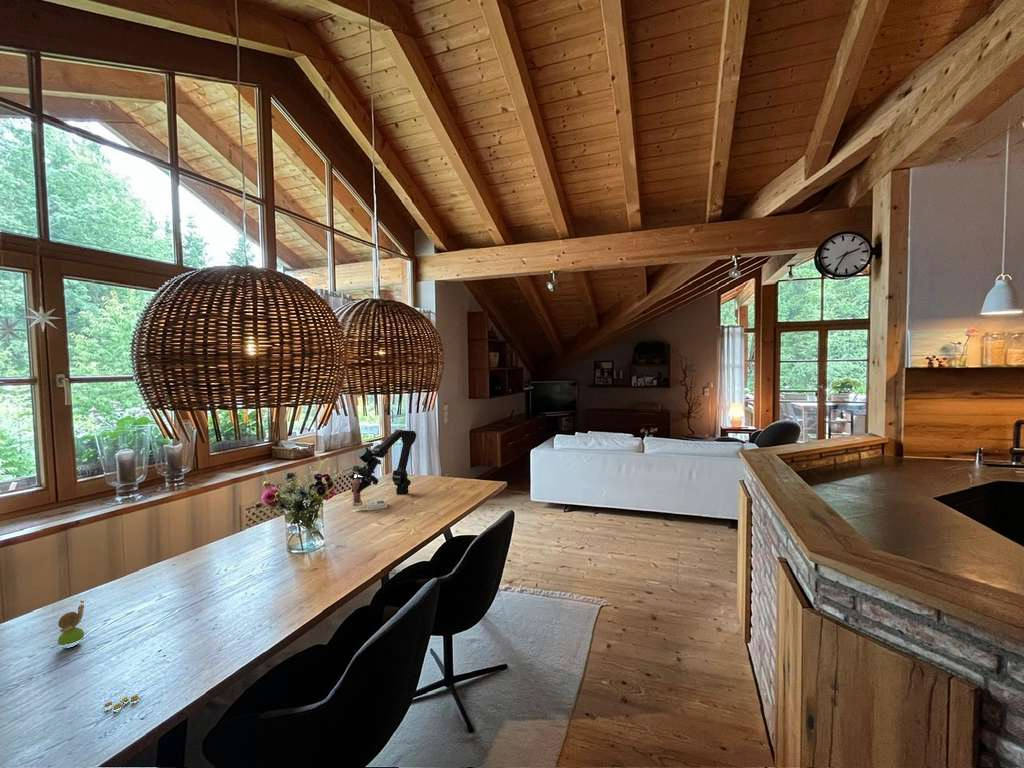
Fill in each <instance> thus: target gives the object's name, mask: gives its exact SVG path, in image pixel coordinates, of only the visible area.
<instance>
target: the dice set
mask: <svg viewBox="0 0 1024 768" xmlns="http://www.w3.org/2000/svg"><path fill="white" fill-rule="evenodd" d="M124 697H125V696H124ZM138 699H139V694H134V695H132V696H131V697H130V699H129V697H128V696H127V697H125V698H123V699H122V701H123V703H124V702H127V701H129V700H130V701H129V702H130V703H131V702H134V701H137V700H138ZM122 701H121V703H118V704H116V703H115V704H114V705H113V708H112V710H113V709H114V710H116V709H118V708H120V707H121V708H122ZM112 703H113V701H107V702H106V703H105V704H104V705H103V706H104V707H108V706H110V705H112Z"/></svg>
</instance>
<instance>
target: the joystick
mask: <svg viewBox="0 0 1024 768" xmlns="http://www.w3.org/2000/svg"><path fill="white" fill-rule="evenodd" d="M360 482H361V480H360V479H354V480H352V486H353V492H352V494H353V495H352V496H353V497H352V498H353V501H352V507H359V506H362V505H363V500H362V499H361V498H362V497H361V492H359V493H357V490H358V488H359V486H360Z"/></svg>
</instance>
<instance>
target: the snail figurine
mask: <svg viewBox="0 0 1024 768" xmlns="http://www.w3.org/2000/svg"><path fill="white" fill-rule="evenodd" d="M79 602H80V603H81V604H80V605H79V606H78V607H77V610H78V611H77V612H75V611H68V612H66V613H64V614H63V615H62V616H61V617H60V619H59V620H58V628H60V630H59V632H60V633H61V634H60V635H59V636H58V638H57V644H58V646H59V645H65V644H70V643H73V642H76V641H78V640H80V639H81V638H83V639H84V637H85V631H84V630H83V629H82V628H81V627H78V625H79V623H80V622H82V621H81V620H82V619H83V616H84V609H85V605H84V602H85V601H84V600H80V601H79ZM76 626H77V627H76ZM83 636H84V637H83Z"/></svg>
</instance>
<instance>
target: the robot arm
mask: <svg viewBox="0 0 1024 768" xmlns="http://www.w3.org/2000/svg"><path fill="white" fill-rule="evenodd" d="M416 438H417V433H416V431H415V430H407V429H405V430H403V429H395V430H394V432H393V433H391V434H390V436H388V437H387V438H386V439H385V440H384V441H383V442H382V443H380V444H377V445H375V446H374V447H373V448H372V449H369V448H368V447H367V446H364V447H363V448H360V449H359V450H358V451H357V453H356V457H358V459H360V460H361V461H362V462H363V463H365V464H362V465H361V466H359V465H353V467H352V471H351V472H348V474H347V477H348V478H349V479H350V480H351V481H353V480H354V479H360V486H359V488H358V490H357V493H359V492H360V493H361V492H362V491H364V490H365V489H367V488H368V487H370V486H372V485H374V486H377V485H378V483H379V479H378V477H376V476H374V475H373V474H375V472H376V471H375V469H376V468H377V466H378V465H382V461H381V459H383V458H385V457H386V455H387V454H388V453H389V449H390V448H391V447H392V446H393V445H394V444H396V443H397V441H398V440H400V439H401V442H402V447H401V451H400V457H399V460H398V461H399V462H398V466H397V468H396V469H395V470H393V471H392V476H391V477H392V479H391V480H392V482H393V484H394V486H396V487H395V493H396V494H395V495H397V496H399V495H400V496H401V495H403V496H404V495H407V494H409V486H410V485H411V480H410V479H409V478H408V471H407V466H408V462H409V458H410V455H411V448H412V446H413V444H414V443H415V442H416ZM378 458H380V459H378ZM351 492H352V493H353V485H352V487H351Z"/></svg>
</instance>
